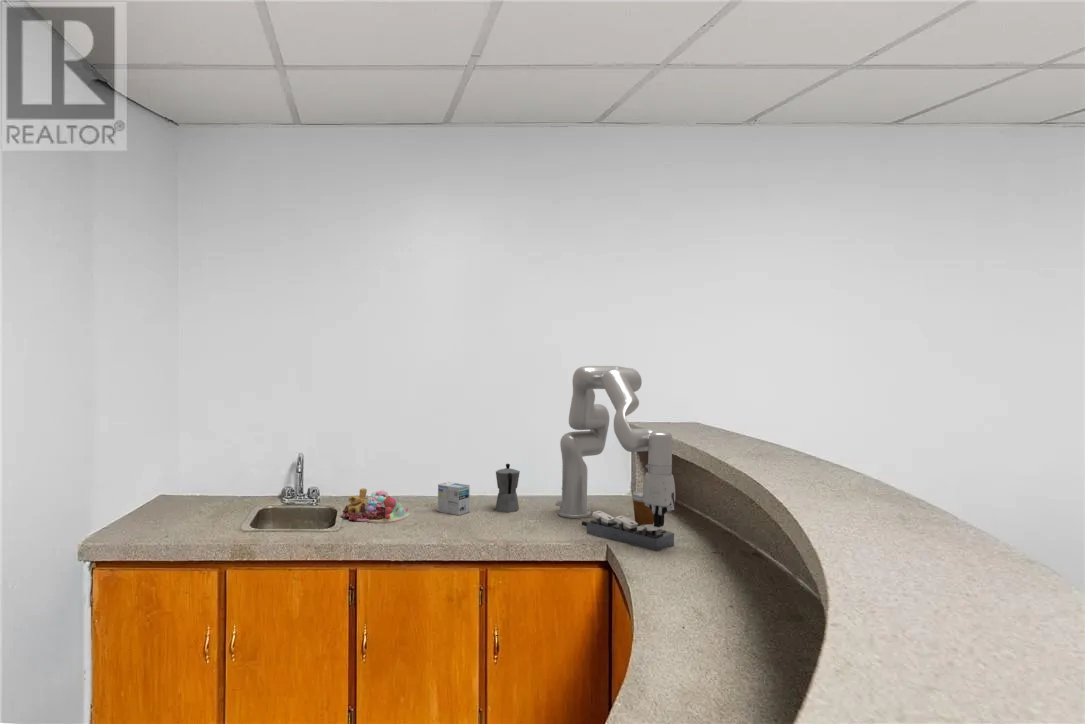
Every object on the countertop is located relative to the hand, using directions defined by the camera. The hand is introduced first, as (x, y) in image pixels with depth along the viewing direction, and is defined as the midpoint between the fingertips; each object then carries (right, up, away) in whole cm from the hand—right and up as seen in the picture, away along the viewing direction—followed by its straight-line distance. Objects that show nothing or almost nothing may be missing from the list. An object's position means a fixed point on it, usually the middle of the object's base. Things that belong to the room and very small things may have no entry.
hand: (658, 526), depth 244 cm
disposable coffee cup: (-1, -6, +27) cm, 28 cm away
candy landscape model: (-99, -5, +38) cm, 107 cm away
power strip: (-11, -7, +13) cm, 18 cm away
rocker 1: (-16, 0, +16) cm, 23 cm away
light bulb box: (-72, -5, +44) cm, 84 cm away
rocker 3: (-3, -1, +3) cm, 4 cm away
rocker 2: (-10, -1, +9) cm, 13 cm away
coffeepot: (-51, -5, +49) cm, 71 cm away
